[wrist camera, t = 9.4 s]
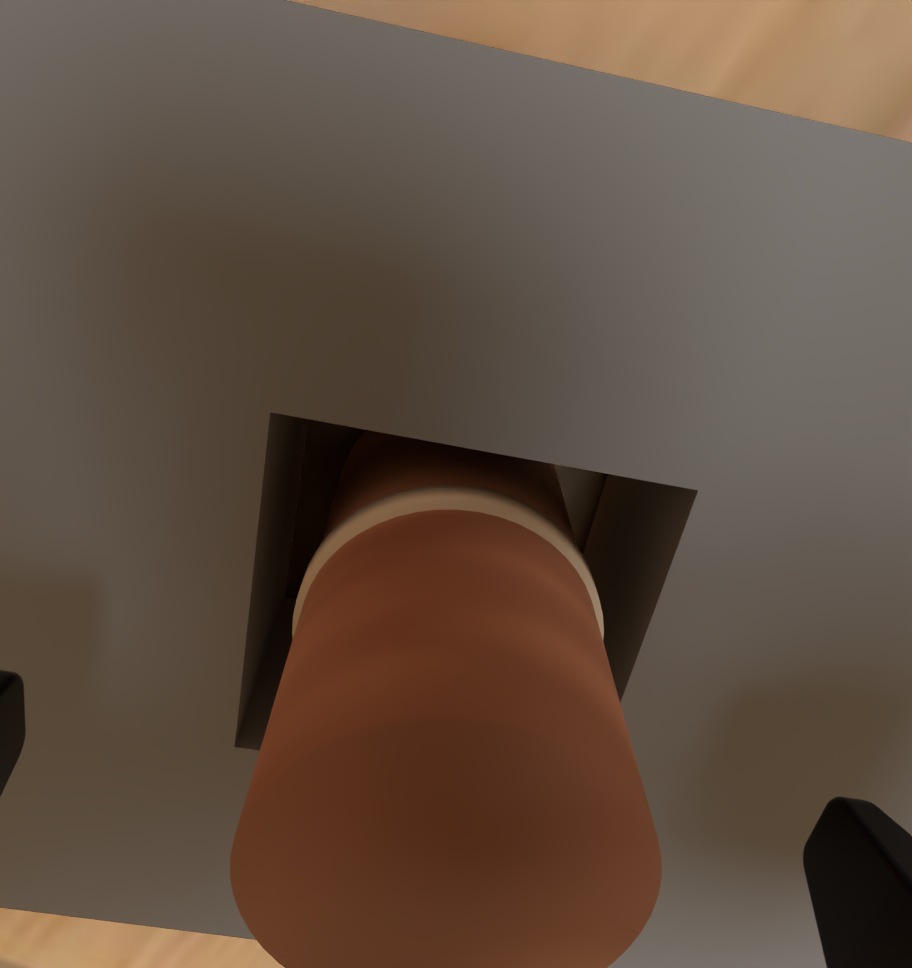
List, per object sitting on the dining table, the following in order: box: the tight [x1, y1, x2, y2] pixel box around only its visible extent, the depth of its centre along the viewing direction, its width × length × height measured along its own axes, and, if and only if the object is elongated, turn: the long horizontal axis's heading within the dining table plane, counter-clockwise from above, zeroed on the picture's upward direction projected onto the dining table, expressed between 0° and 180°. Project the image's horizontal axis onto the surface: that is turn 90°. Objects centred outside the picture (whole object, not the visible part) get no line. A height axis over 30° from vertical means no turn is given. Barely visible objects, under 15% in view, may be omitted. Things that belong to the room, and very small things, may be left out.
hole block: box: [0, 0, 912, 968], centre depth 13 cm, size 16×14×4 cm
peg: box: [230, 430, 662, 968], centre depth 11 cm, size 4×4×8 cm
